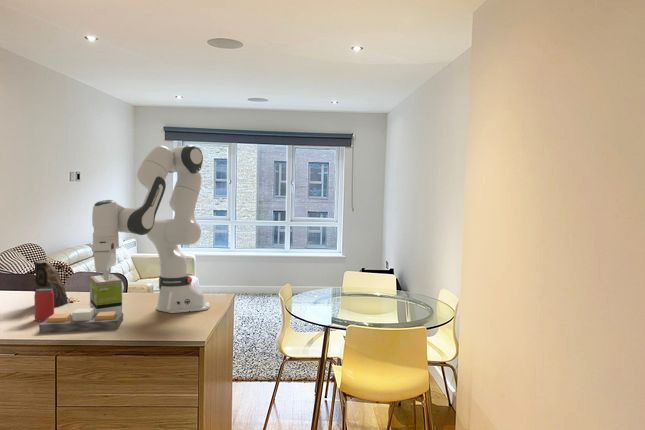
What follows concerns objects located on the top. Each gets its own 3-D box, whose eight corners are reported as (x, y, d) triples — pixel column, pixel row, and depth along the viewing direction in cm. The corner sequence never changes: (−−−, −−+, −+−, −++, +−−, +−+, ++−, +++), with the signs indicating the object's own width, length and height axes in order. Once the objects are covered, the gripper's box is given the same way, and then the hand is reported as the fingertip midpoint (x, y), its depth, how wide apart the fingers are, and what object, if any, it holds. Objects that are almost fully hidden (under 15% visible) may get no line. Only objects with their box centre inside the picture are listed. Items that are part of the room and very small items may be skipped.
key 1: (71, 322, 177) (70, 313, 176) (66, 326, 171) (66, 317, 171) (53, 322, 175) (53, 314, 175) (48, 327, 169) (48, 318, 169)
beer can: (34, 322, 179) (33, 291, 178) (35, 318, 185) (35, 288, 184) (53, 320, 182) (53, 290, 181) (54, 316, 188) (54, 286, 187)
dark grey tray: (123, 320, 184) (123, 312, 184) (117, 328, 172) (117, 320, 172) (50, 323, 178) (50, 315, 177) (39, 333, 166) (39, 324, 166)
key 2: (116, 319, 181) (116, 311, 180) (113, 324, 175) (113, 315, 175) (99, 320, 179) (99, 312, 179) (96, 325, 173) (96, 316, 173)
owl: (49, 310, 197) (49, 263, 196) (22, 308, 199) (21, 262, 198) (69, 303, 210) (69, 259, 209) (44, 301, 211) (43, 258, 210)
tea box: (89, 310, 198) (89, 275, 198) (114, 306, 204) (114, 273, 204) (96, 318, 186) (96, 281, 186) (122, 314, 192) (122, 279, 192)
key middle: (93, 316, 179) (93, 308, 178) (90, 321, 173) (90, 312, 173) (76, 317, 177) (76, 308, 177) (72, 322, 171) (72, 312, 171)
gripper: (102, 240, 185) (103, 274, 186) (90, 247, 165) (91, 285, 166) (119, 239, 186) (120, 273, 187) (109, 246, 166) (110, 284, 167)
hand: (107, 279), depth 176 cm, fingers closed
